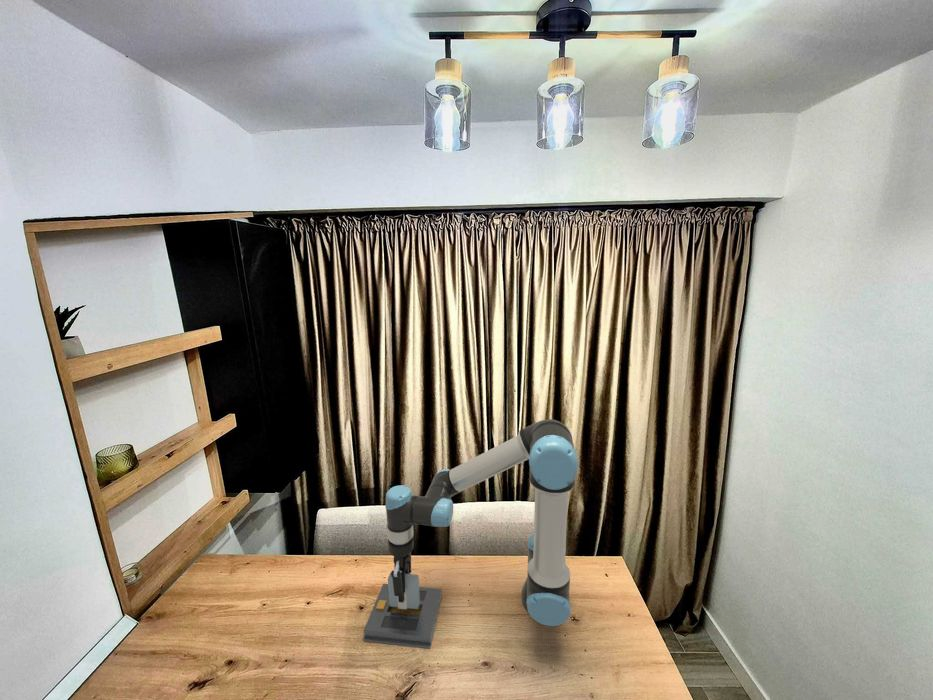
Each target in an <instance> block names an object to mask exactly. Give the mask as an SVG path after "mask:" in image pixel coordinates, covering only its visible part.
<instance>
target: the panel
mask: <svg viewBox="0 0 933 700" xmlns="http://www.w3.org/2000/svg"><path fill="white" fill-rule="evenodd" d="M391 572H392V571H391ZM391 572H390V573H389V575H388V577H387V584H388V589H389V603H390V606H391V607H398V596H394V587H393V579H392V576H391ZM419 587H420V577H419V574H416V573H415V574H413V573H410V574H405V589H406V590H407V608H411V609H418V607H419V604H420V592H419Z"/></svg>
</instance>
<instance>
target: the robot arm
mask: <svg viewBox="0 0 933 700" xmlns="http://www.w3.org/2000/svg"><path fill="white" fill-rule="evenodd" d="M573 440H574V439H573V437H572V433H571V431H570V430H569V428H568V427H567V426H566V425H565V424H564V423H562V422H561V421H559V420H556V419H542V420H539V421H537V422H534V423H532V424H530V425H528V426H526V427H524V428H522V429H521V430H519V431H518V433H517V435H516V436H514V437H511V439H509V440H506V441H504V442H502V443H500V444H499V445H497V446H496V445H495V446H494V447H493V448H490V449H488V450H487V451H485V452H483V453H481V454H478V455H477V456H475V457H473V458H471V459H468V460H467V461H465V462H463V463H461V464H459V465H458V466H455V467H454V468H451V469H449V468H443V469H442V468H441V469H440V470H438V472H437V473H436V474H435V475H434V476H433V478H432V481H431V484H430V485H429V487H428V489H427V492H426V494H425V495H424V496H421V495H413V493H412V490H411V488H410V487H408V486H407V485H404V484H403V485H401V484H400V485H395V486H392V487H390V489H388V490H387V492H386V494H385V505H384V506H385V507H384V508H385V512H386V527H385V530H387V538H388V539H387V544H388V552H389V554H390V555H392V556H393V564H394V569H393V570H391V576H392V579H393V587H394V596H398V609H407V590H406V589H405V574H412V552H413V550H414V547H415V545H414V544H415V543H414V542H415V541H414V525H422V526H430V527H435V528H436V527H437V528H438V527H441V528H443V527H444V528H447V527H449V526H451V524H452V521H453V516H454V502H453V500H452V497H454V496H455V495H457V494H459V493H462V492H463V491H465V490H468V489H469V488H471V487H474V486H475V485H478V484H479V483H482V482H484V481H486V480H488V479H490V478H492V477H494V476H497V475H499V474H501V473H502V472H505V471H507V470H509V469H511V468H513V467H516V466H518V465H519V464H522V463H524V462H525V461H528V465H529V483H530V485H531V486H532V487H533V489H534V516H533V517H534V518H533V519H534V520H533V521H534V522H533V523H534V524H533V528H534V529H533V533H532V534H530V535H529V537H528V542H527V544H526V545H527V574H526V575H527V576H526V578H525V581H524V583H523V586H522V589H521V601H522V605H523V607H524V609H525V610H526V612H528V615H529V616H530V617H531V618H532V619H533V620H535V622H537V623H539V624H540V625H544V626H547V627H558V626H560V625H561V624H565V623H566V622H567V621H568V620H569V619H570V617H571V613H572V612H571V611H572V610H571V609H572V605H571V599H570V590H571V589H570V586H571V585H570V584H571V583H570V582H571V571H570V568H569V566H568V564H567V563H566V552H567V546H566V545H567V526H568V525H567V523H568V522H567V520H568V505H569V504H568V503H569V502H568V500H569V497H568V496H569V492H571V491H572V490H573V489H574V487H575V479H576V476H577V474H578V469H579V461H578V460H579V457H578V455H577V451H576V450H575V445H574V441H573Z"/></svg>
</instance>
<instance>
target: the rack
mask: <svg viewBox="0 0 933 700" xmlns="http://www.w3.org/2000/svg"><path fill="white" fill-rule="evenodd" d="M419 592H420V604H419V607H418V609H411V608H407V609H398V607H391V606H390V603H389V589H388V583H383V584H382V586H381V588H380V590H379V593H378V595H377V598H376V600H375V602H374V605H373V607H372V610H371V612H370V614H369V617H368V619H367V621H366V624H365V626H364V629H363V636H364V637H363V642H366V643H374V644H384V645H391V646H401V647H402V646H403V647H409V648H410V647H411V648H419V649H427V650H430V649H431V647H432V642H433V638H434V633H435V630H436V626H437V620H438V616H439V611H440V607H441V601H442V598H443V591H442V588H437V587H436V588H433V587H424V586H423V587H421V586H419Z"/></svg>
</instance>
